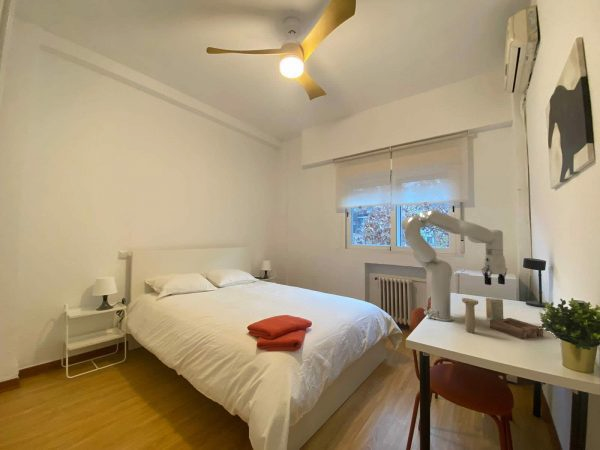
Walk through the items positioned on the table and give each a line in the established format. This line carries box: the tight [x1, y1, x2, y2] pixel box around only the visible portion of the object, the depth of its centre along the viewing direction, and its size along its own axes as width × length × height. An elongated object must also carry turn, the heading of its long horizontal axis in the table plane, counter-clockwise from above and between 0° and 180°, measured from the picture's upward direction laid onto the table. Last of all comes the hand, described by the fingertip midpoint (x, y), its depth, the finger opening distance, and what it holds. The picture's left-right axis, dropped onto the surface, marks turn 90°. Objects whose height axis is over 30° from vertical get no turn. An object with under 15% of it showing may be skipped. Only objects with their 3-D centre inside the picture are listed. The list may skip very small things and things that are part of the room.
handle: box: [461, 297, 479, 334], centre depth 117 cm, size 5×6×15 cm
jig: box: [489, 317, 544, 340], centre depth 118 cm, size 14×14×4 cm
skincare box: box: [485, 297, 504, 322], centre depth 133 cm, size 6×4×12 cm
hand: (494, 284), depth 134 cm, fingers open, 9 cm apart
